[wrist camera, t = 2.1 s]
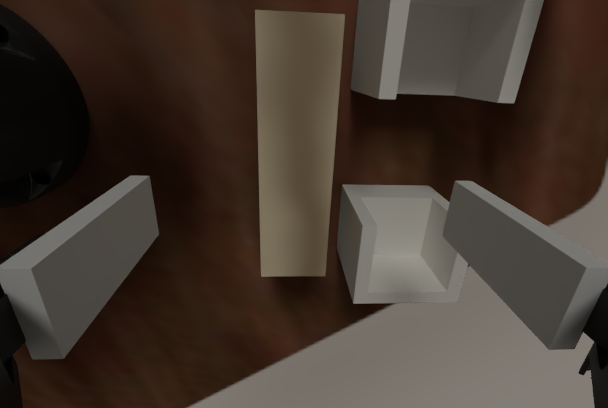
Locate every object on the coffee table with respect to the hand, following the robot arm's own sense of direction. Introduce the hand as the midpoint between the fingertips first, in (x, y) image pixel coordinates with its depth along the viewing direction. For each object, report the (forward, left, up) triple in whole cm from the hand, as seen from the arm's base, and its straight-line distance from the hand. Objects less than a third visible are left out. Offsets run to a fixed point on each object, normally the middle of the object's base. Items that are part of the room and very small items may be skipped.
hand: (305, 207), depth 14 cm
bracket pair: (+8, 0, -14) cm, 16 cm away
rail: (0, 0, -11) cm, 11 cm away
